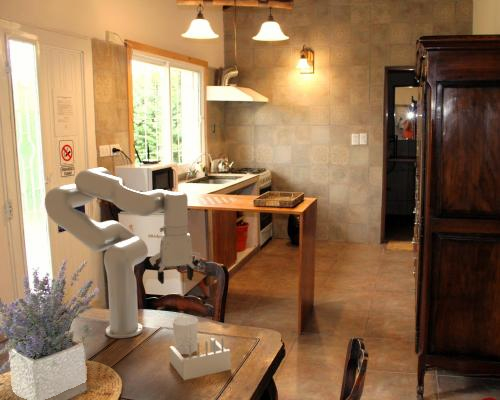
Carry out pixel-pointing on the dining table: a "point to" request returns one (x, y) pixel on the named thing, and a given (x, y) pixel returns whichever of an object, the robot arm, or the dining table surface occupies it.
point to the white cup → (185, 334)
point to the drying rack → (201, 360)
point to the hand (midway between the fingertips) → (175, 280)
